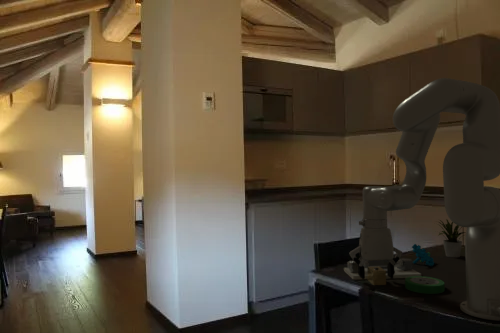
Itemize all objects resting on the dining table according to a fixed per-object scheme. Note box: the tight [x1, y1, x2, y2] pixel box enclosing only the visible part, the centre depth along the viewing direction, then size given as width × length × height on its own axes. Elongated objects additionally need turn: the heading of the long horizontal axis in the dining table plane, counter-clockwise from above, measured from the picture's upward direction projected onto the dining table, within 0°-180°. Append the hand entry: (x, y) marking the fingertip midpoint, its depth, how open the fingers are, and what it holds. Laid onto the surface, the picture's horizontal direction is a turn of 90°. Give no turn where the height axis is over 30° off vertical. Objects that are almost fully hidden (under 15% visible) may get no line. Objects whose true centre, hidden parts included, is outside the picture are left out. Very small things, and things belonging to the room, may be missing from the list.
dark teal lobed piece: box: [411, 243, 436, 267], centre depth 155 cm, size 11×6×10 cm
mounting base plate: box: [343, 265, 422, 281], centre depth 141 cm, size 12×23×2 cm, turn 92°
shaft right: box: [394, 257, 414, 271], centre depth 142 cm, size 7×4×4 cm, turn 107°
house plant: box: [435, 218, 466, 258], centre depth 168 cm, size 14×14×16 cm
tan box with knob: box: [367, 267, 387, 286], centre depth 131 cm, size 6×4×5 cm, turn 1°
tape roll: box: [404, 275, 446, 295], centre depth 123 cm, size 11×11×3 cm
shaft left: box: [346, 259, 370, 273], centre depth 141 cm, size 7×4×4 cm, turn 92°
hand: (376, 277), depth 131 cm, fingers open, 8 cm apart
